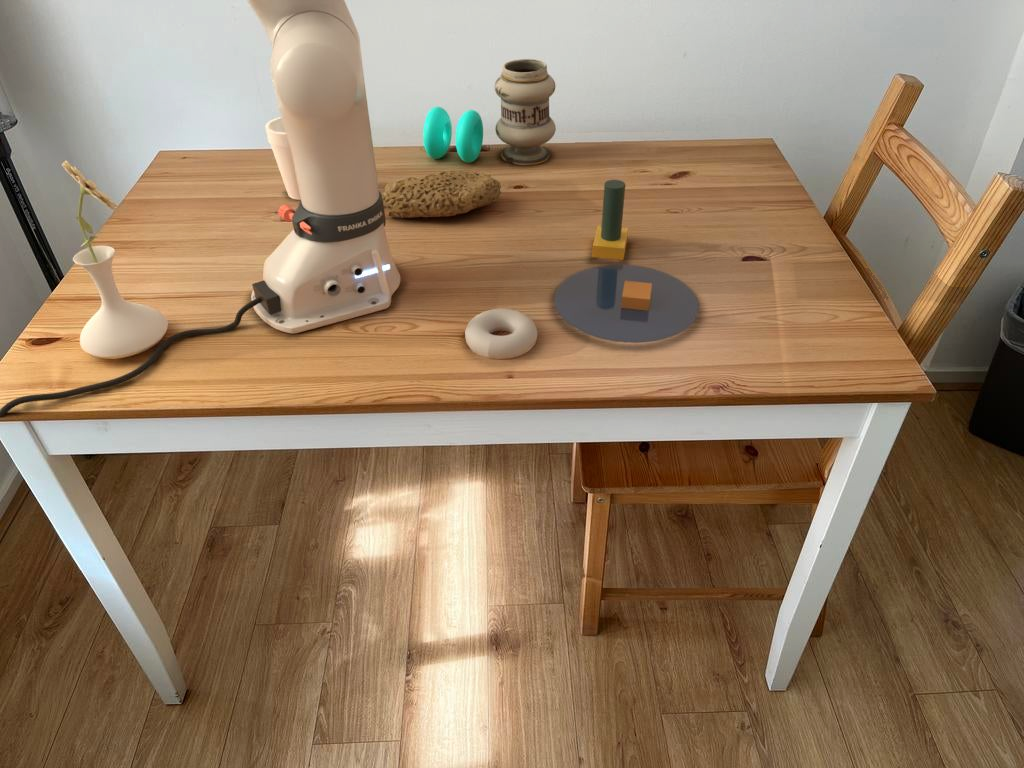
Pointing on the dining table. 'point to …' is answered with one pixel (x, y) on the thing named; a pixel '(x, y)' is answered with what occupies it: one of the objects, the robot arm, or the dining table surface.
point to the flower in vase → (112, 296)
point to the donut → (501, 345)
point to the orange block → (636, 295)
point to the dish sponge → (611, 223)
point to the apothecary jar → (525, 111)
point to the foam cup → (283, 155)
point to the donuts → (441, 132)
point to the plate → (598, 311)
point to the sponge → (440, 194)
